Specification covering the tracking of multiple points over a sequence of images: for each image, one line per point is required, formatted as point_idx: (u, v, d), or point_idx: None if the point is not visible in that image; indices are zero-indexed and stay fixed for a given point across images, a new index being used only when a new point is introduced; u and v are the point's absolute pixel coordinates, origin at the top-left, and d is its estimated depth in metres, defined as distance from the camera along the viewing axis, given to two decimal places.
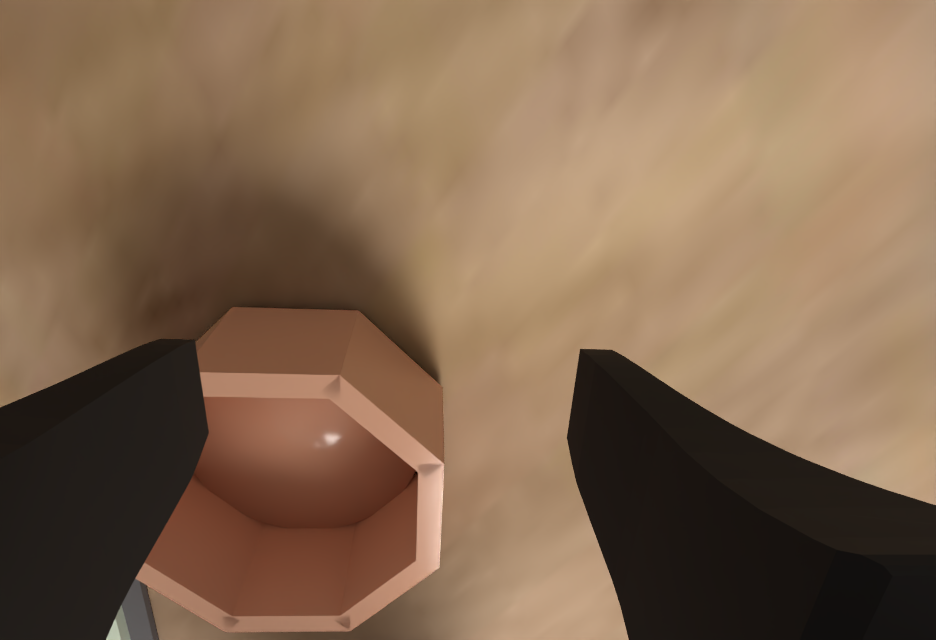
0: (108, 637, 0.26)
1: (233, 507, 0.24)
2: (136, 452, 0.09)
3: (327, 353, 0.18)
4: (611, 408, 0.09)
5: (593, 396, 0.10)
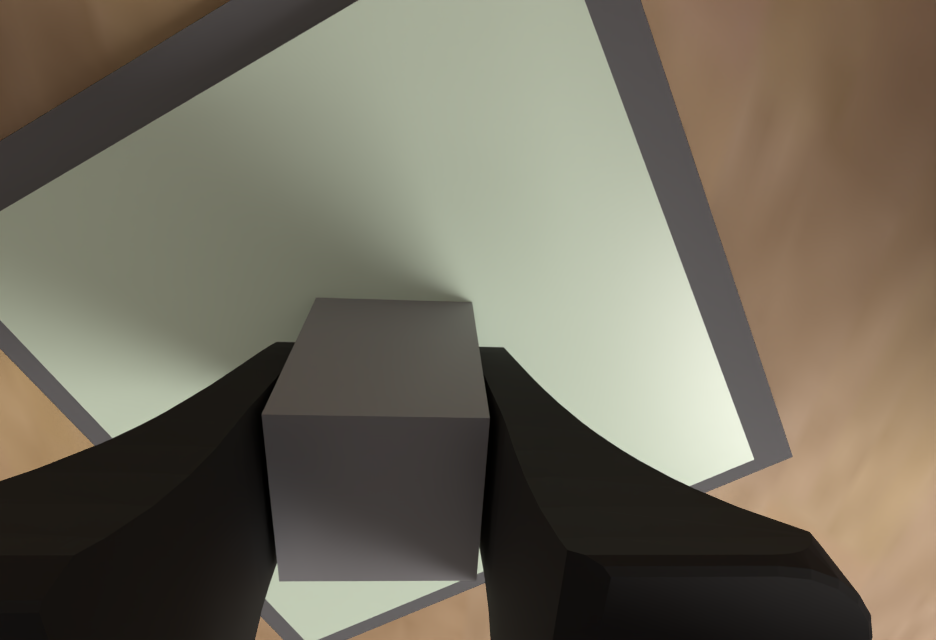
0: (671, 311, 0.12)
1: None
2: None
3: None
4: None
5: None
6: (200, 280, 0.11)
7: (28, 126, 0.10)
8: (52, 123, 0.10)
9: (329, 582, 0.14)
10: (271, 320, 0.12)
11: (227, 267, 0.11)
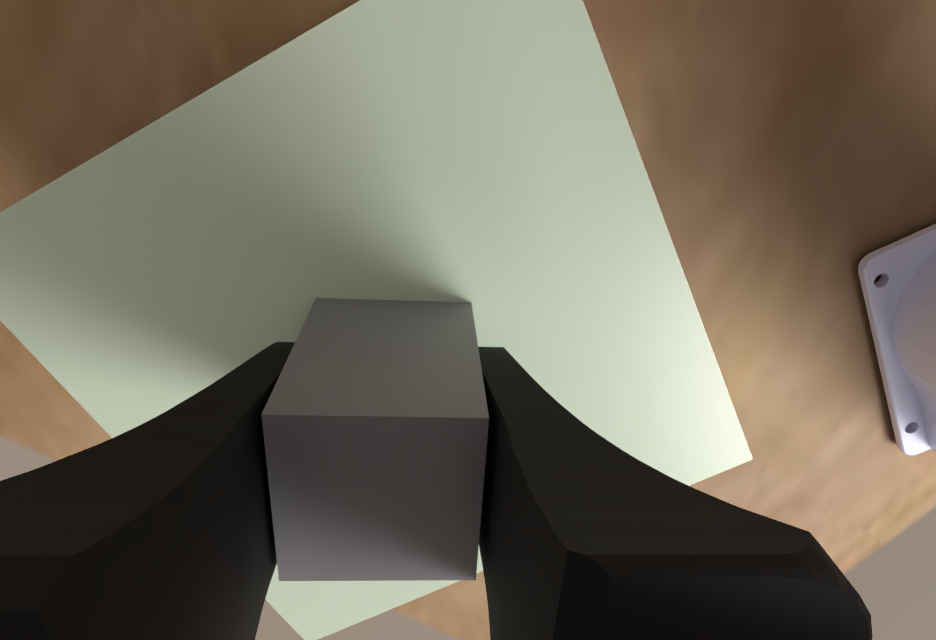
0: (669, 311, 0.12)
1: None
2: None
3: None
4: None
5: None
6: (200, 280, 0.11)
7: None
8: None
9: (329, 582, 0.15)
10: (270, 320, 0.12)
11: (227, 267, 0.11)
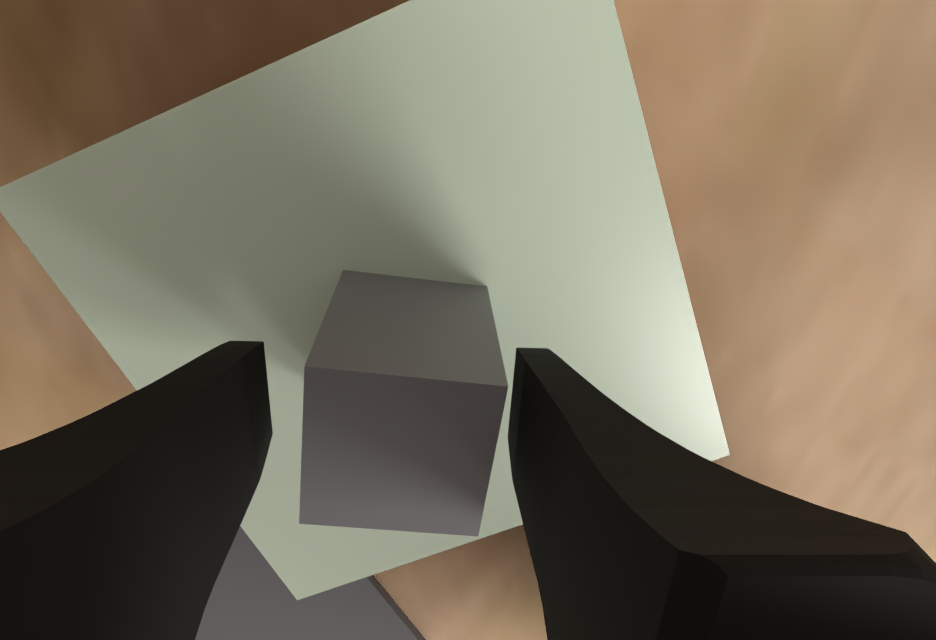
0: (667, 310, 0.13)
1: None
2: (220, 452, 0.09)
3: None
4: (536, 407, 0.09)
5: (524, 395, 0.10)
6: (236, 244, 0.12)
7: None
8: None
9: (324, 542, 0.15)
10: (298, 287, 0.12)
11: (263, 234, 0.12)
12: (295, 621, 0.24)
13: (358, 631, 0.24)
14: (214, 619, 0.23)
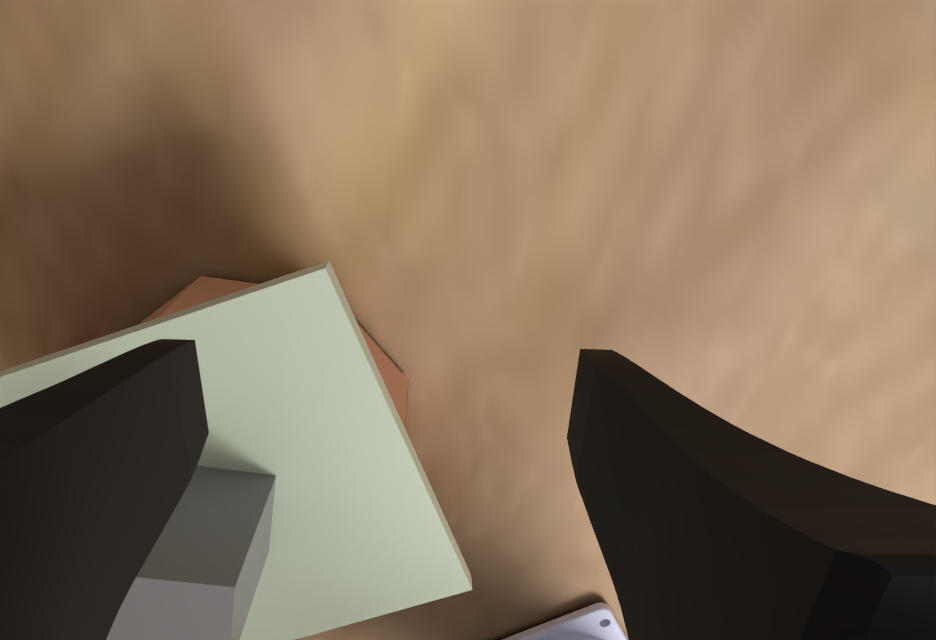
0: (410, 495, 0.18)
1: None
2: (136, 452, 0.09)
3: None
4: (611, 408, 0.09)
5: (593, 396, 0.10)
6: None
7: None
8: None
9: None
10: None
11: None
12: None
13: None
14: None
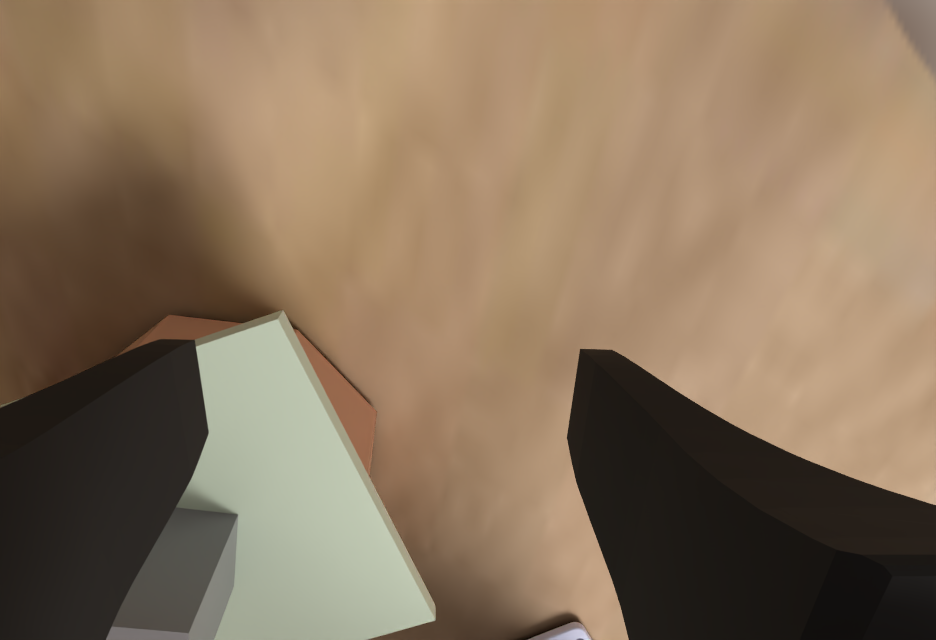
0: (371, 531, 0.18)
1: None
2: (136, 452, 0.09)
3: None
4: (611, 408, 0.09)
5: (593, 396, 0.10)
6: None
7: None
8: None
9: None
10: None
11: None
12: None
13: None
14: None
